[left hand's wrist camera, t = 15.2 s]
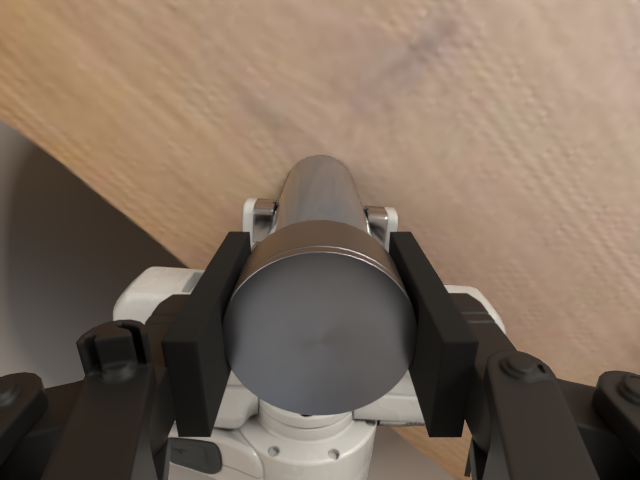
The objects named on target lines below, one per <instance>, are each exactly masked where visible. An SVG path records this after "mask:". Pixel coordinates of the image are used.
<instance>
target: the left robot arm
mask: <svg viewBox="0 0 640 480" xmlns="http://www.w3.org/2000/svg"><path fill="white" fill-rule="evenodd" d="M250 254H251V242H250V232H229V233H228V235H227V236H226V238H225V239H224V241H223V243H222V244H221V246H220V247H219V249H218V251H217V252H216V254H215V255H214V257H213V259H212V260H211V262H210V263H209V265H208V267H207V268H206V270H205V271H204V273H203V275H202V276H201V278H200V279H199V281H198V283H197V284H196V286H195V287H194V289H193V291H192V292H191V294H172V295H171V296H169V297H168V298H166V299H165V300H163V301H162V302H160V303H159V304H158V306H157V307H156V308H155V310H154V311H153V312H152V314H151V316H149V318H148V319H147V320H146V322H145V325H144V324H143V323H142V322H140V321H136V320H132V319H126V320H116V321H111V322H107V323H104V324H101V325H99V326H97V327H94V328H92V329H91V330H89V331H88V332H86V333H85V334H83V335H82V336H81V337H80V338H79V340H78V341H77V342H76V344H77V348H78V351H79V355H80V358H81V362H82V365H83V369H84V372H85V377H84V380H81V381H78V382H74V383H69V384H65V385H60V386H55V387H51V388H46V389H44V386H43V383H42V380H41V378H40V377H39V376H37V375H36V374H34V373H26V372H23V373H15V374H9V375H6V376H3V377H0V480H168V474H169V464H170V455H171V450H170V444H169V439H168V435H169V433H170V431H171V429H172V426H173V424H174V422H175V421H176V427H177V432H178V437H211V434H212V431H213V428H214V424H215V421H216V418H217V415H218V411H219V408H220V405H221V402H222V399H223V395H224V392H225V389H226V386H227V383H228V379H229V376H230V373H231V368H230V366H229V363H228V361H227V359H226V356H225V352H224V344H223V335H222V322H223V316H224V313H225V310H226V307H227V304H228V302H229V300H230V297H231V295H232V293H233V290H234V288H235V286H236V283H237V281H238V278H239V276H240V274H241V271H242V269H243V267H244V265H245V263H246V261H247V259H248V257H249V256H250ZM389 255H390V256H391V258H392V260H393V261H394V263H395V266H396V268H397V270H398V273H399V275H400V277H401V280H402V282H403V285H404V287H405V289H406V292H407V294H408V296H409V299H410V301H411V304H412V306H413V308H414V311H415V314H416V319H417V324H418V333H417V342H416V350H415V355H414V358H413V360H412V363H411V365H410V367H409V368H408V371H409V374H410V377H411V380H412V383H413V387H414V390H415V393H416V396H417V399H418V403H419V406H420V409H421V412H422V415H423V419H424V422H425V425H426V428H427V431H428V435H429V437H461V436H462V431H463V425H464V420H466V423H467V425H468V427H469V429H470V432H471V434H472V439H471V444H470V449H469V454H468V459H467V464H466V469H465V476H468V477H470V473H472V480H640V375H637V374H634V373H630V372H623V371H609V372H604V373H603V374H602V375H601V376H599V379H598V382H597V385H596V387H592V386H588V385H583V384H578V383H574V382H569V381H565V380H561V379H557V378H556V377H555V375H554V373H553V372H552V370H551V369H550V368H549V366H547V365H546V364H545V363H543V362H542V361H541V360H539V359H538V358H536V357H533V356H531V355H529V354H527V353H523V352H519V351H517V350H516V348H515V347H514V346H513V344H512V343H511V342H510V340H509V339H508V338H507V336H506V335H505V334H504V332H503V331H502V330H501V328H500V327H499V326H498V324H497V323H495V320H494V319H493V318H492V316H491V315H489V312H488V311H487V310H486V308H485V307H484V306H483V304H482V303H481V302H480V301H479V300H477V299H475V298H474V297H472V296H471V295H469V294H468V293H448V291H447V289H446V288H445V286H444V285H443V283H442V281H441V280H440V278H439V277H438V275H437V273H436V272H435V270H434V269H433V267H432V265H431V264H430V262H429V261H428V259H427V257H426V256H425V254H424V253H423V251H422V249H421V248H420V246H419V245H418V243H417V241H416V240H415V238H414V237H413V235H412V233H411V232H390V239H389Z"/></svg>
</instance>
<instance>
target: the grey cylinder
mask: <svg viewBox="0 0 640 480" xmlns="http://www.w3.org/2000/svg"><path fill="white" fill-rule="evenodd" d="M309 220H330V221H337V222H341V223H346V224H348V225H351V226H354V227H357V228H358V229H360V230H362V231H364V232H366V233H368V234H369V235H370V236H372V237H373V238H374V236H373V233H372V230H371V228H370V225H369V222H368V219H367V217H366V214H365V211H364V208H363V205H362V203H361V200H360V197H359V194H358V192H357V189H356V186H355V183H354V180H353V178H352V175H351V173H350V172H349V170H348V169H347V168H346V166H345V165H344V164H343V163H341V162H340V161H338V160H337V159H335V158H332V157H329V156H324V155H316V156H311V157H307V158H305V159H303V160H301V161H300V162H298V163H297V164H296V165H295V166H294V167H293V168H292V170H291V171H290V173H289V175H288V177H287V180H286V182H285V185H284V188H283V191H282V194H281V196H280V199H279V202H278V205H277V207H276V210H275V213H274V216H273V219H272V221H271V224H270V227H269V230H268V232H267V235H266V237H268V236H269V235H270V234H272V233H274V232H275V231H277V230H279V229H281V228H283V227H286V226H288V225H291V224H294V223H298V222H303V221H309Z"/></svg>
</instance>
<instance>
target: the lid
mask: <svg viewBox="0 0 640 480" xmlns="http://www.w3.org/2000/svg"><path fill="white" fill-rule="evenodd" d="M417 333H418V324H417V319H416V314H415V311H414V308H413V306H412V304H411V301H410V299H409V296H408V294H407V292H406V289H405V287H404V285H403V282H402V280H401V277H400V275H399V273H398V270H397V268H396V266H395V263H394V261H393V260H392V258H391V256H390V255H389V253H388V252H387V251H386V249H385V248H384V247H383V246H382V245H381V244H380V243H379V242H378V241H377V240H376V239H375V238H373V237H372V236H370V235H369V234H368V233H366V232H364V231H362V230H360V229H358V228H357V227H354V226H351V225H348V224H346V223H341V222H337V221H330V220H309V221H303V222H298V223H294V224H291V225H288V226H286V227H283V228H281V229H279V230H277V231H275V232H274V233H272V234H270V235H269V236H268V237H266V238H265V239H264V240H263V241H261V242H260V243H259V245H258V246H257V247H256V248H255V249H254V250H253V251H252V253H251V254H250V256H249V257H248V259H247V261H246V263H245V265H244V267H243V269H242V271H241V274H240V276H239V278H238V281H237V283H236V286H235V288H234V290H233V293H232V295H231V297H230V300H229V302H228V304H227V307H226V310H225V313H224V316H223V322H222V335H223V344H224V352H225V356H226V359H227V361H228V363H229V366H230V368H231V370H232V371H233V373H234V374H235V376H236V377H237V378H238V379H239V381H240V382H241V383H242V384H243V385H244V386H245V387H246V388H247V389H248V390H249V391H250V392H252V393H253V394H254V395H256V396H257V397H258V398H260V399H261V400H263V401H265V402H267V403H269V404H271V405H273V406H275V407H278V408H280V409H283V410H286V411H290V412H293V413H298V414H304V415H316V416H320V415H335V414H342V413H346V412H350V411H354V410H357V409H360V408H362V407H365V406H367V405H369V404H371V403H373V402H375V401H376V400H378V399H380V398H381V397H383V396H384V395H385V394H387V393H388V392H389V391H391V390H392V389H393V388H394V387H395V386H396V385H397V384H398V383H399V381H400V380H401V379H402V378H403V376H404V375H405V374H406V372H407V370H408V368H409V367H410V365H411V363H412V360H413V358H414V355H415V350H416V342H417Z"/></svg>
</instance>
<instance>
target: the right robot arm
mask: <svg viewBox="0 0 640 480" xmlns="http://www.w3.org/2000/svg"><path fill="white" fill-rule="evenodd" d="M276 207H277V200H268V199H257V198H247V200H246V201H245V203H244V206H243V214H242V227H243V232H250V242H251V249H252V248H253V246H254V245H255V243H256V242H261V241H263V240H264V239H265V238H266V235H267V232H268V230H269V227H270V224H271V221H272V219H273V216H274V213H275V210H276ZM364 211H365V214H366V217H367V219H368V222H369V225H370V228H371V230H372V233H373V236H374V238H375V239H376V240H377V241H378V242H379V243H380V244H381V245H382V246H383V247H384V248H385V249H386V251H387V252H388V253H389V239H390V232H397V226H398V215H397V212H396V211H395V209H394V208H391V207H375V206H365V207H364ZM204 271H205V270H201V269H185V268H169V267H150V268H148V269H147V270H145V271H144V272H143V273H142V274H141V275H140V276H139V277H137V278H136V279H135V280H134V281H133V282H132V283H131V284H130V285H129V286H128V287H127V288H126V290H125V291H124V292H123V293H122V295H121V296H120V297H119V299H118V300H117V302H116V304H115V307H114V310H113V321H116V320H126V319H132V320H136V321H140V322H142V323H143V324H144V325H145V322H146V320H147V319H148V318H149V316H151V314H152V312H153V311H154V310H155V308H156V307H157V306H158V304H159V303H160V302H162V301H163V300H165V299H166V298H168V297H169V296H171V295H172V294H191V292H192V291H193V289H194V287H195V286H196V284H197V283H198V281H199V279H200V278H201V276H202V275H203V273H204ZM444 286H445V288H446V289H447V291H448V293H468V294H469V295H471V296H472V297H474V298H475V299H477V300H479V301H480V302H481V303H482V304H483V306H484V307H485V308H486V310H487V311H488V312H489V315H491V316H492V318H493V319H494V320H495V323H497V324H498V326H499V327H500V328H501V330H502V331H503V332H504V334H505V327H504V324H503V322H502V320H501V318H500V317H499V315H498V314H497V312H496V311H495V309H494V308H493V306H492V305H491V304H490V303H489V301H488V300H487V299H486V298H485V297H484V296H483V295H482V294H481V292H480V291H479V290H477V289H476V288H474V287H469V286H456V285H444ZM377 425H381V426H399V427H402V426H415V425H416V426H426V425H425V422H424V419H423V415H422V412H421V409H420V406H419V403H418V399H417V396H416V393H415V390H414V387H413V383H412V380H411V377H410V374H409V371H408V370H407V372H406V374H405V375H404V376H403V378H402V379H401V380H400V381H399V383H398V384H397V385H396V386H395V387H394V388H393V389H392V390H391V391H389V392H388V393H387V394H385V395H384V396H383V397H381V398H380V399H378V400H376V401H375V402H373V403H371V404H369V405H367V406H365V407H362V408H360V409H357V410H354V411H350V412H346V413H342V414H335V415H320V416H316V415H304V414H298V413H293V412H290V411H286V410H283V409H280V408H278V407H275V406H273V405H271V404H269V403H267V402H265V401H263V400H261V399H260V398H258V397H257V396H256V395H254V394H253V393H252V392H250V391H249V390H248V389H247V388H246V387H245V386H244V385H243V384H242V383H241V382H240V381H239V379H238V378H237V377H236V376H235V374H234V373H233V371H232V370H231V373H230V376H229V379H228V383H227V386H226V389H225V392H224V395H223V399H222V402H221V405H220V408H219V411H218V415H217V418H216V421H215V424H214V428H213V431H212V434H211V437H178V432H177V427H176V421H175V422H174V424H173V426H172V429H171V431H170V433H169V435H168V439H169V444H170V450H171V455H170V464H172V465H176V466H179V467H183V468H186V469H189V470H192V471H195V472H198V473H201V474H204V475H207V476H209V477H212V478H214V479H217V480H367V479H368V474H369V469H370V463H371V457H372V451H373V445H374V439H375V433H376V427H377Z"/></svg>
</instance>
